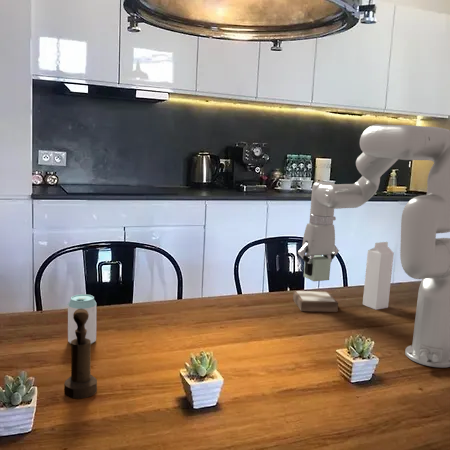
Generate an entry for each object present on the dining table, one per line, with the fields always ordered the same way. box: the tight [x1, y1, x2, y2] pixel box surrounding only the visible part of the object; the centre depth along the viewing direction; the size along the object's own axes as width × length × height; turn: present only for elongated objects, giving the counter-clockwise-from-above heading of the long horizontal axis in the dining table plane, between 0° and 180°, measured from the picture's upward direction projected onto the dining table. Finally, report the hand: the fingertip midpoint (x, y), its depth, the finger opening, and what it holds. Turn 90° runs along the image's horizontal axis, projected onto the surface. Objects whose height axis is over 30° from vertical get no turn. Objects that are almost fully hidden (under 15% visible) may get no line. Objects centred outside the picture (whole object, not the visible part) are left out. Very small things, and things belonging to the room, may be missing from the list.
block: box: [303, 255, 332, 282], centre depth 175 cm, size 6×6×7 cm
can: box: [67, 293, 98, 345], centre depth 136 cm, size 7×7×12 cm
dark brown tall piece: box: [63, 309, 98, 400], centre depth 110 cm, size 7×6×18 cm
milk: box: [362, 241, 395, 311], centre depth 178 cm, size 6×6×22 cm
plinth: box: [292, 290, 339, 313], centre depth 177 cm, size 12×12×3 cm
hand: (316, 273), depth 175 cm, fingers closed on block, 6 cm apart
